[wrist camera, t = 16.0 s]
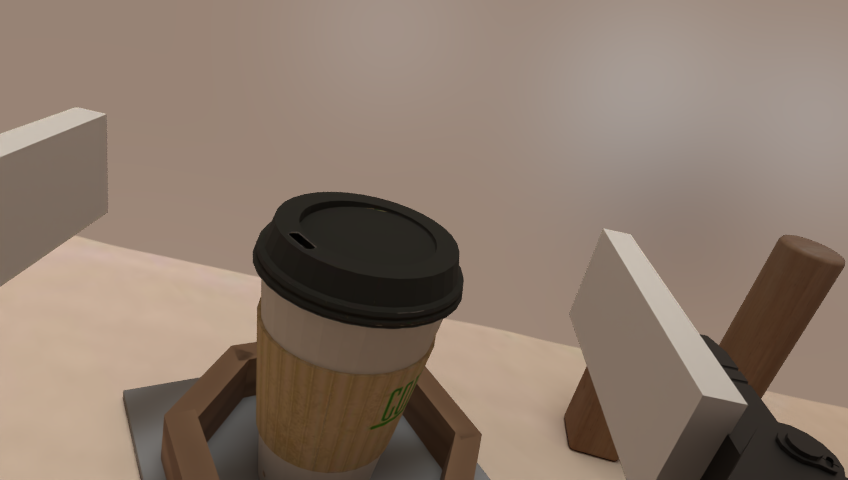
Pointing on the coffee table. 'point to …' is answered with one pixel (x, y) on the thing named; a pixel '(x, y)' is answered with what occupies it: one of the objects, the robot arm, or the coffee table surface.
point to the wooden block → (739, 332)
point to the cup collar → (238, 434)
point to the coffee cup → (344, 329)
